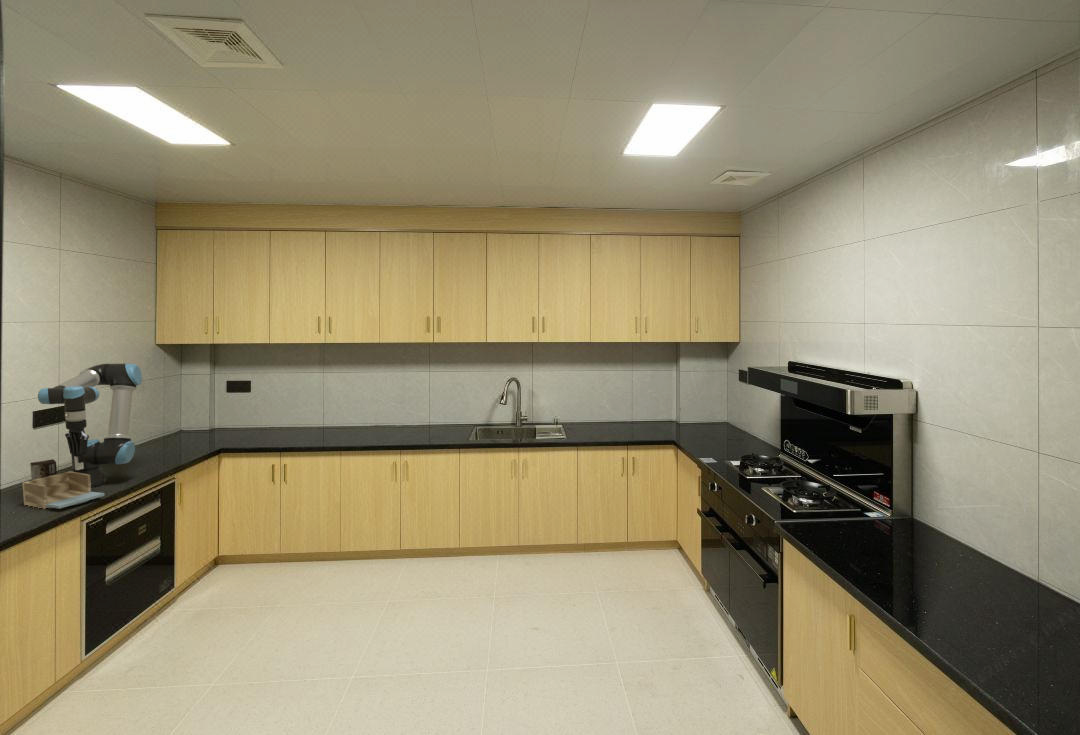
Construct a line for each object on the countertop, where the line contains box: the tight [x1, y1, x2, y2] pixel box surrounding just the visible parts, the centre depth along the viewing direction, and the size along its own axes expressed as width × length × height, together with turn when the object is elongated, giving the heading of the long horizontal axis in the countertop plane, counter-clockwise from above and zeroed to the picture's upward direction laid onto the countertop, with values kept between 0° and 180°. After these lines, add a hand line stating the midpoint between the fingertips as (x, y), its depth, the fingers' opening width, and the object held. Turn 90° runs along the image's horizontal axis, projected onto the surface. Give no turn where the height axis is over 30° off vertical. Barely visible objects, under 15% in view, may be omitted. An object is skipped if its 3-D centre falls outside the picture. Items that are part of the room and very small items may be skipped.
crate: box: [22, 470, 92, 510], centre depth 275 cm, size 20×15×11 cm
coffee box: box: [29, 459, 58, 480], centre depth 284 cm, size 9×6×16 cm
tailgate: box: [46, 491, 105, 510], centre depth 271 cm, size 20×2×9 cm
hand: (79, 469), depth 268 cm, fingers closed
